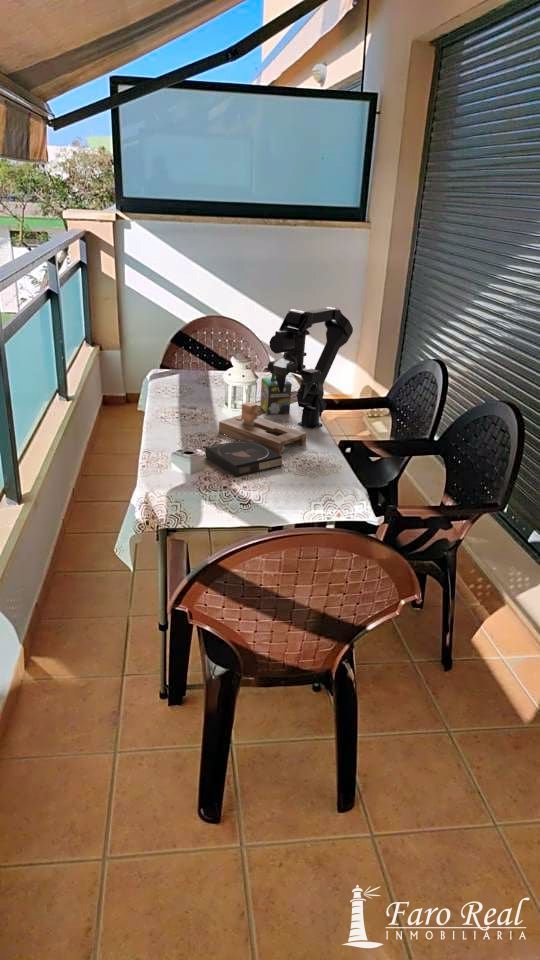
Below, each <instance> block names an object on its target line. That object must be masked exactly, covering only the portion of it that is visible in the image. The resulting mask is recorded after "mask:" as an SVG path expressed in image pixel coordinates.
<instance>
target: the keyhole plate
mask: <svg viewBox="0 0 540 960" xmlns="http://www.w3.org/2000/svg"><path fill="white" fill-rule="evenodd" d="M241 417H242V414H240V415H236V416H233V417H230V418H227V419H226V418H225V419H222V420H220V421H218V433H219V432H220V433H222V434H221V435H223V434H225V435H224V436H226V435H227V436H226V437H229V436H230V437H229V438H231V437H232V439H235V440H236V441H239V440H245V439H252V440H254V441H256V442H258V443H259V444H261V445H263V446H265V447H267V448H268V449H270V450H272V451H274V452H276V453H277V454H279V455H282V454H283V449H284V445H285V446H286V445H287V444H291V443H292V444H294V445H297V444H298V445H297V446H301V447H303V446H306V444H307V432H305V431H302V430H298V429H296V428H292V427H290V426H286V425H285V424H284V425H283V424H280V423H278V422H275V421H271V420H268V419H266V418H263V417H259V416H257V419H255V420H254V426H251V425H248V424H245V423H244V419H242V418H241ZM220 433H219V434H220Z"/></svg>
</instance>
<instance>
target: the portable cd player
mask: <svg viewBox="0 0 540 960" xmlns="http://www.w3.org/2000/svg"><path fill="white" fill-rule="evenodd" d="M204 451H205V453H204V455H205V454H206V457H207V458H206V459H207V460H208V461H210V463H213V464H214V465H216V466H217V467H219V468H220V469H222V470H223V471H225V472H226V473H228V474H229V475H231V476H232V477H234V478H237V477H242V476H247V475H251V474H256V473H261V472H266V471H270V470H276V469H279V468H282V467H283V459H282V458H283V457H282V454H280V455H279V454H277V453H276V452H274V451H272V450H270V449H268V448H267V447H265V446H263V445H261V444H259V443H258V442H256V441H254V440H252V439H245V440H240V441H239V440H235V441H230V442H223V443H220V444H215V445H214V444H213V445H209V446H205V450H204Z"/></svg>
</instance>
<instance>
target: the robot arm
mask: <svg viewBox="0 0 540 960" xmlns="http://www.w3.org/2000/svg"><path fill="white" fill-rule="evenodd" d="M318 323H319V324H320V323H324V326H325V328H326V331H325V337H326V338H325V339H326V342H325V344H324V347H323V349H322V352H321V354H320V356H319V358H318V360H317V362H316V365H315V367H314V368H308V369H306V364H304V359H305V357H306V356H307V352H305V351H306V336H310V331H309V330H308V329H310V328H312V327H313V325H314V324H318ZM353 332H354V328H353V326H352V324H351V321H350V320H349V318H347V317H346V316H345V315H344V314H343V313H342V312H341V310H340V309H339V308H337V307H331V306H326V307H321V308H318V309H316V308H315V309H312V310H311V309H310V310H301V309H295V308H291V309H289V310H288V312H287V313H286V315H285V317H284V319H283V321H282V322H281V324H280V327H279V329H278V330H276V331H275V333H274V335H272V336H271V338H270V340H269V344H268V345H269V349H270V350H271V352H272V353H273V354H276V355H277V354H282V353H283V357H282V358H280V359H275V360H271V361H269V362H268V364H267V367H266V368H267V371H269V372H270V374H271V375H272V374H273V375H274V376H275V378H276V380H277V384H278V387H279V391H280V393H282V392H283V390H284V385H285V380H287V379H286V378H287V376H288V375H289V374H295V375H299V376H300V377H301V380H300V382H301V384H300V385H299V389H297V395H296V399H297V406H298V407H299V408H302V413H301V421H299V422H297V425H298V426H303V427H305V428H308V429H316V428H319V427H321V426H323V423H322V422H320V417H321V413H323V412H324V411H326V408H327V404H328V403H326V401H325V400H324V395H325V391H324V384H325V382H326V379H327V377H328V375H329V372H330V370H331V368H332V366H333V364H334V361H335V358H336V357H337V354H338V352H339V350H340V348H342V347H343V346H345V344H347V343H348V341H349V340H350V338H351V336H352V335H353Z"/></svg>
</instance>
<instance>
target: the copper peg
mask: <svg viewBox="0 0 540 960" xmlns="http://www.w3.org/2000/svg"><path fill="white" fill-rule="evenodd" d="M241 415H242V417H241V418H242V419H244V423H245V424H248V425H251V426H254V420H255V419H257V417H258V404H257V403H254V402H251V401H249V402H248V401H247V402H246V403H245V402H244V403H242V405H241Z"/></svg>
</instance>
